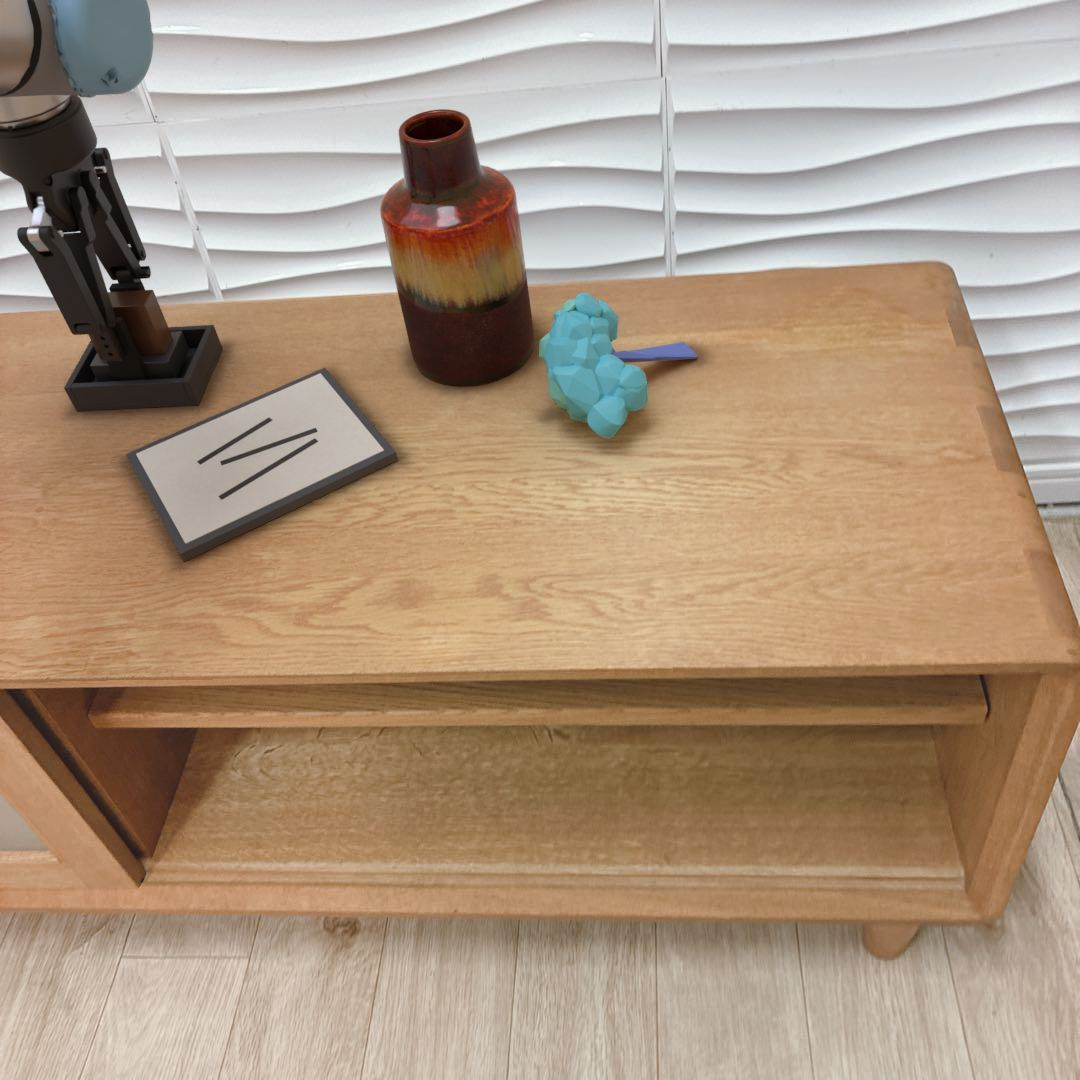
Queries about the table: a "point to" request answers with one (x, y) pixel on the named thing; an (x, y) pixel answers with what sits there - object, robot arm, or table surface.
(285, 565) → the table surface
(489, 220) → the vase
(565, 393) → the light blue toy tree
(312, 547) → the table surface
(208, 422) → the whiteboard
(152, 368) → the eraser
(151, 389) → the tray
